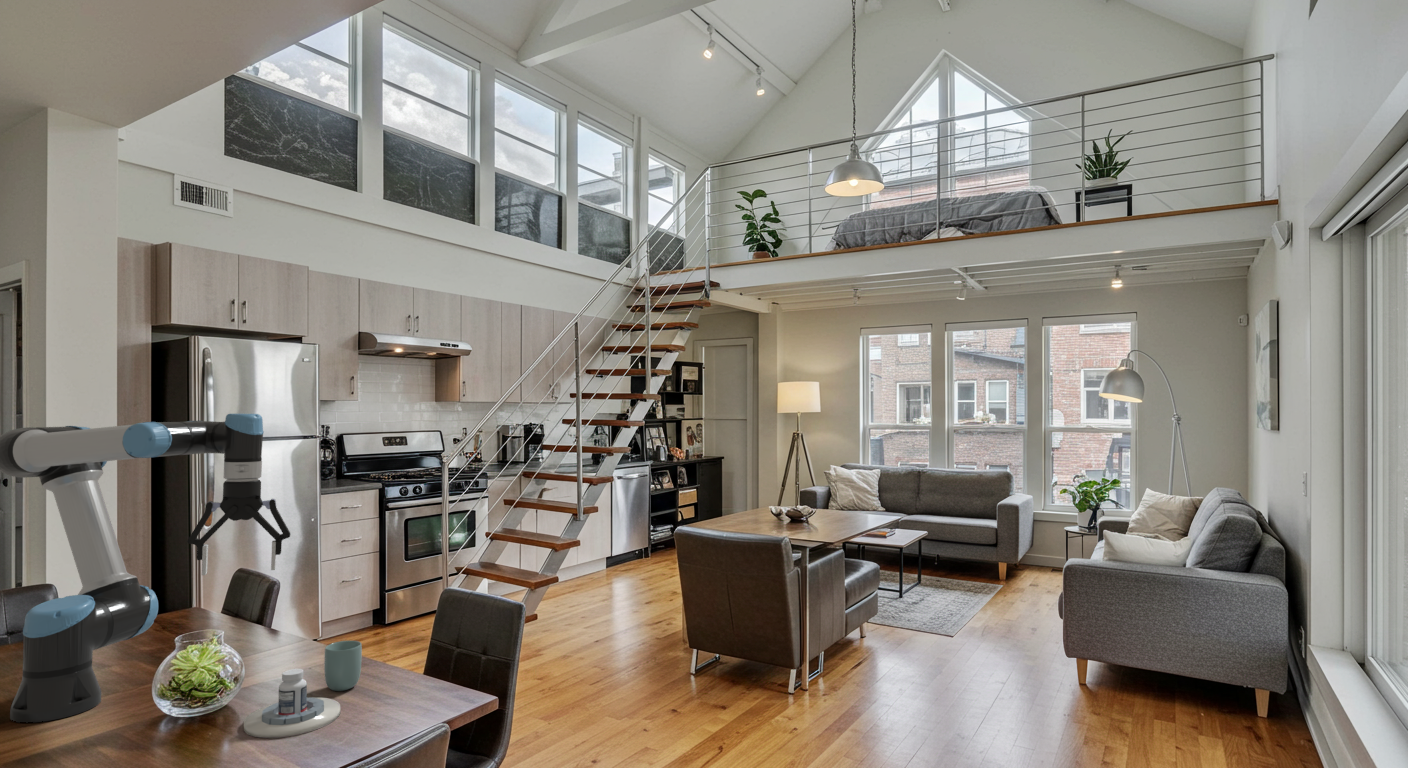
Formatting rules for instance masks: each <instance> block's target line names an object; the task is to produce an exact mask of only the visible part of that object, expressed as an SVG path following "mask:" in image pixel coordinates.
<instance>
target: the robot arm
mask: <svg viewBox="0 0 1408 768" xmlns="http://www.w3.org/2000/svg"><path fill="white" fill-rule="evenodd" d="M263 421H264V420H263V417H262V415H261V414H259V413H227V414H226V416H225V420H224V421H212V420H211V421H208V420H188V421H171V422H170V421H167V422H166V421H163V422H162V421H161V422H160V421H159V422H158V421H157V422H156V421H144V422H137V423H134V424H125V425H124V424H123V425H114V426H104V427H95V428H92V427H91V428H90V427H87V426H77V425H65V426H38V427H33V426H32V427H21V428H14V429H11V430H8V431H6V432H4V433H2V434H0V472H1V473H2V474H5V475H6V476H9V477H13V478H14V477H15V478H39V480H40V484H41V486H42V489H44V490H47V491H49V492H51V493H52V494H53V496H54V500H55V502H56V506H57V510H58V512H59V516H60V519H61V522H62V525H63V528H64V532H65V534H66V538H67V541H68V544H69V547H70V551H71V553H72V557H73V560H74V563H75V565H76V566H75V567H76V570H77V573H78V576H79V579H80V583H81V585H82V587H81V589H80V591H79V592H78V593H77V594H75V595H67V596H64V597H59V598H58V597H57V598H53V599H50V600H47V601H44V602H42V603H39V604H37V605H35V606H33V607H32V608H30V609H29V610H28V611H27V613H26V615H25V617H24V618H25V619H24V624H23V625H24V626H23V628H22V635H23V650H22V652H23V653H22V654H23V655H22V657H23V658H22V679H21V682H20V684H19V687H18V690H17V691H16V694H15V696H14V698H13V701H12V702H11V703H12V704H10V705H11V706H10V708H9V709H10V710H9V711H10V712H9V719H10V720H11V721H12V720H13V721H12V722H14V721H16V722H15V723H20V722H26V724H29V723H28V722H33V723H41V722H42V721H43V722H49V721H55V720H60V719H64V718H69V717H71V716H75V715H79V714H81V713H84V712H86V711H88V710H89V711H90V710H91V709H93V708H95V707H97V706H98V705H99V704H100V703H101V702H102V689H101V686H100V683H99V681H98V679H97V676H96V674H95V672H94V669H93V655H94V653H93V651H95V650H98V649H101V648H104V647H107V646H111V645H113V644H117V643H120V642H123V641H127V640H130V639H133V638H134V637H136V636H139V635H141V634H143V633H145V632H147V630H149V629H150V628H151V627H152V625H153V624H154V622H155V619H156V618H157V617H158V613H159V600H158V597H157V595H156V592H155V591H154V590H153V589H150V588H149V586H146V585H140V582H139V579H138V576H136V575H134V574H131V573H129V572H128V571H127V568H126V564H125V561H124V558H123V556H122V555H123V554H122V553H121V549H120V546H119V543H118V539H117V537H116V534H115V530H114V527H113V524H112V520H111V518H110V514H109V512H108V509H107V505H106V502H105V500H104V496H103V493H102V490H101V487H100V484H99V480H100V478H101V477H102V476H103V475H104V470H103V469H104V466H106V464H107V462H113V461H122V460H123V461H125V460H133V459H134V460H135V459H150V458H159V457H171V456H184V455H199V454H200V455H201V454H222V455H223V454H224V455H223V456H224V457H223V458H224V459H223V479H225V481H224V482H223V484H222V499H221V502H218V501H217V502H216V501H215V502H214V501H212V500H210V501H208V502H207V503H206V504H205V508H204V512H203V515H202V516H201V518H200V519H199V521H198V522H197V524H196V526H195V528H194V529H193V531H192V533H191V534H190V536H189V537H188V539H187V544H189V545H193V546H194V545H195V546H196V560H197V561H201V576H206V575H207V573H208V562H209V561H208V560H209V559H208V558H209V557H208V556H209V544H205V543H207V541H208V540H209V539H210V538H211V537H212V536H213V535H214V534H215V533H216V532H217V531H218V530H219V529H220V528H221V527H222V526H223V525H224V524H225V523H226V522H227V521H228V520H231V521H233V522H234V521H236V522H237V521H240V520H243V521H249V520H251V519H253V520H255V522H257V523H258V524H259V525H260V526H261V527H262V528H263V529H264V530H265V531H266V532H267V533H268V534H269V535H270V536H271V537H272V538H273V540H272V541H271V557H270V558H271V563H270V564H271V565H270V571H275V569H276V562H277V561H276V559H277V557H276V556H277V555H279V556H280V555H281V554H282V546H283V545H282V542H283V540H286V539H289V538H290V537H291V531H290V529H289V528H288V526H287V523H286V522H285V521H284V518H283V517H282V515H281V513H280V511H279V510H278V508H277V501H276V499H275V498H271V499H269V500H262V481H261V480H260V478H262V473H263V472H262V469H263V468H262V466H263V461H262V460H263V459H262V452H263V439H264V432H265V431H264V422H263ZM262 507H265V508H266V510H269V511H270V513H271V515H272V517H273V519H274V521H275V522H276V524H277V526H278V528H279V530H280V532H281V533H279V531H278V530H277V529H275V527H274V526H273V525H271V524H270V522H269V521H268V520H266V519H265V518H264V516H263V515H262V514H261V513H260V512H259V511H260V510H261V509H262ZM218 508H219V509H220V510H221V511H222V512H223V513H224V514H223V515H222V516H221V517H220V518H219V519H218V520H217V521H216V522H215V524H214V525H212V526H211V528H209V529H208V530H207V531H206V532H205V534H204V535H203V536H201V538H198V536H199V535H200V533H201V531H202V530H203V528H204V526H205V525H206V523H207V521H208V520H209V518H210V516H211V515H212V513H213V512H216V511H217V510H218Z"/></svg>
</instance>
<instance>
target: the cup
mask: <svg viewBox="0 0 1408 768" xmlns="http://www.w3.org/2000/svg"><path fill="white" fill-rule="evenodd" d="M362 646H363V645H362V642H361V641H359V640H341V641H335V642H332V643H329V644H327V645H326V647H325V648H324V658H323V661H324V662H323V664H324V666H323V667H324V668H323V669H324V679H325V680H324V681H325V684H326V686H327V688H329V689H330V690H331V691H333V692H334V691H335V692H342V691H347V690H350V689H352V688H354V687H355V686H356V685H357V684H358V683H359V680H360V677H361V671H362V659H363V657H362V655H363V647H362Z"/></svg>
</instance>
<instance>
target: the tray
mask: <svg viewBox="0 0 1408 768" xmlns="http://www.w3.org/2000/svg"><path fill="white" fill-rule="evenodd" d="M278 706H279V701H278V702H275V703H272V704H269V705H265V706H263V707H261V708H259V709H257V710H255V711H253V712H251V713H250V714H249V715H247V717H246V718H244V721H243V731H244V733H245V734H247V735H248V736H251V737H255V738H260V739H275V738H276V739H278V738H279V739H280V738H287V737H293V736H298V735H304V734H306V733H310V732H313V731H316V730H318V729H322V728H324V727H326V726H328V725H329V724H331V723H333V722H334V721H336V720H337V719H338V718H339V717H340V714H341V704H340V702H338V701H337V700H335V699H333V698H327V697H316V696H315V697H312V696H311V697H307V709H306V711H304V712H301V713H298V714H292V715H278Z"/></svg>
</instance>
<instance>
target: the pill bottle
mask: <svg viewBox="0 0 1408 768" xmlns="http://www.w3.org/2000/svg"><path fill="white" fill-rule="evenodd" d="M281 681H282V682H281V683H280V684H279V686H278V702H279V706H278V715H292V714H298V713H301V712H304V711H306V709H307V698H308V697H307V696H308V695H307V692H308V690H307V689H308V684H307V683H308V682H307V681H306V679H304V669H303V668H292V669H291V668H290V669H287V670H285V671H283V672H282V673H281Z"/></svg>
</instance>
